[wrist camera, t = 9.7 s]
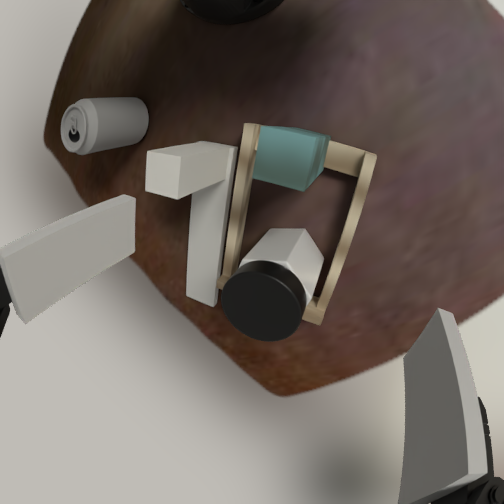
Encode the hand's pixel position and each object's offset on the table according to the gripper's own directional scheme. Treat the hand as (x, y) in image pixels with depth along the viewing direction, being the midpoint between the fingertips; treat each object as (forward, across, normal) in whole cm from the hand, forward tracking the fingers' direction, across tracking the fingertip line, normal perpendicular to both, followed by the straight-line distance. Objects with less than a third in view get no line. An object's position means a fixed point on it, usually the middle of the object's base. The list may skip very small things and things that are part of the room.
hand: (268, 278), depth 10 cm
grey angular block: (+23, -14, -11) cm, 29 cm away
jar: (+24, -2, -11) cm, 26 cm away
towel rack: (+23, -3, -6) cm, 24 cm away
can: (+23, -30, +2) cm, 38 cm away
